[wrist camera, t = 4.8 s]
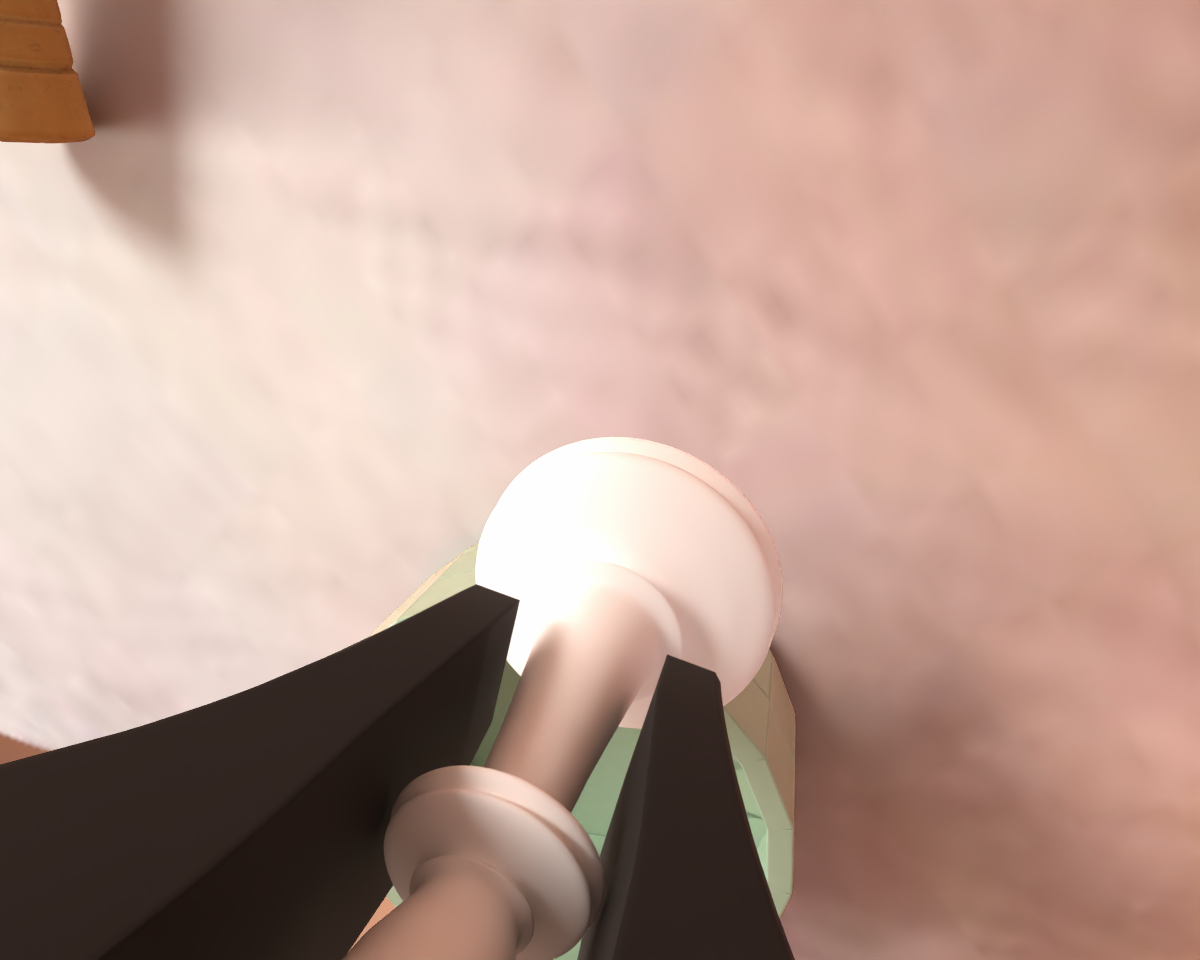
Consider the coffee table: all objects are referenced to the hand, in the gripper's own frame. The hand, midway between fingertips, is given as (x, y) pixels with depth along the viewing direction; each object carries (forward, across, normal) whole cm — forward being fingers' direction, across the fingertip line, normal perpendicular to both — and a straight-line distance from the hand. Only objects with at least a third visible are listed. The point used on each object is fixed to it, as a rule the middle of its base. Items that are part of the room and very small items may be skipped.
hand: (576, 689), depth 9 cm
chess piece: (+3, 0, 0) cm, 3 cm away
